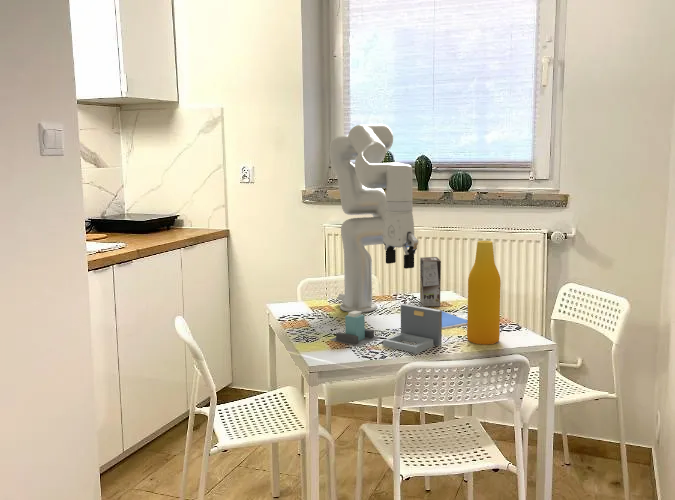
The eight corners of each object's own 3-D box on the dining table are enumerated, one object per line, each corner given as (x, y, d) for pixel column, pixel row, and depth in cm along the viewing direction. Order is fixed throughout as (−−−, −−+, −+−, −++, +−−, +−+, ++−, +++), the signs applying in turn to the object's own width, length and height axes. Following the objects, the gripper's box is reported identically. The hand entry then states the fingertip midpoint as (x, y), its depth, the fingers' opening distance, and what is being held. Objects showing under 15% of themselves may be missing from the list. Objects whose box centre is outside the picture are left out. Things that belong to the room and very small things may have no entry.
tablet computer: (473, 325, 216) (473, 321, 216) (442, 331, 210) (442, 327, 210) (436, 312, 233) (436, 308, 232) (406, 317, 227) (406, 313, 226)
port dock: (380, 346, 194) (380, 312, 192) (403, 336, 203) (403, 303, 201) (419, 354, 186) (419, 319, 184) (441, 344, 195) (441, 310, 193)
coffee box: (440, 306, 238) (441, 260, 236) (422, 306, 238) (422, 261, 236) (437, 300, 247) (437, 256, 245) (419, 300, 247) (419, 256, 245)
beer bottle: (505, 340, 198) (508, 241, 193) (486, 347, 192) (488, 245, 187) (479, 333, 205) (481, 238, 200) (460, 340, 199) (461, 241, 194)
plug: (345, 339, 200) (345, 312, 199) (354, 335, 203) (353, 309, 202) (356, 341, 197) (356, 314, 196) (364, 338, 200) (364, 311, 199)
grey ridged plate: (328, 341, 200) (328, 332, 199) (352, 332, 208) (352, 324, 208) (358, 347, 193) (358, 339, 192) (381, 338, 201) (381, 330, 201)
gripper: (372, 205, 203) (373, 262, 205) (405, 210, 188) (405, 271, 190) (394, 204, 206) (394, 260, 209) (427, 208, 191) (427, 268, 194)
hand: (399, 265), depth 199 cm, fingers open, 9 cm apart
